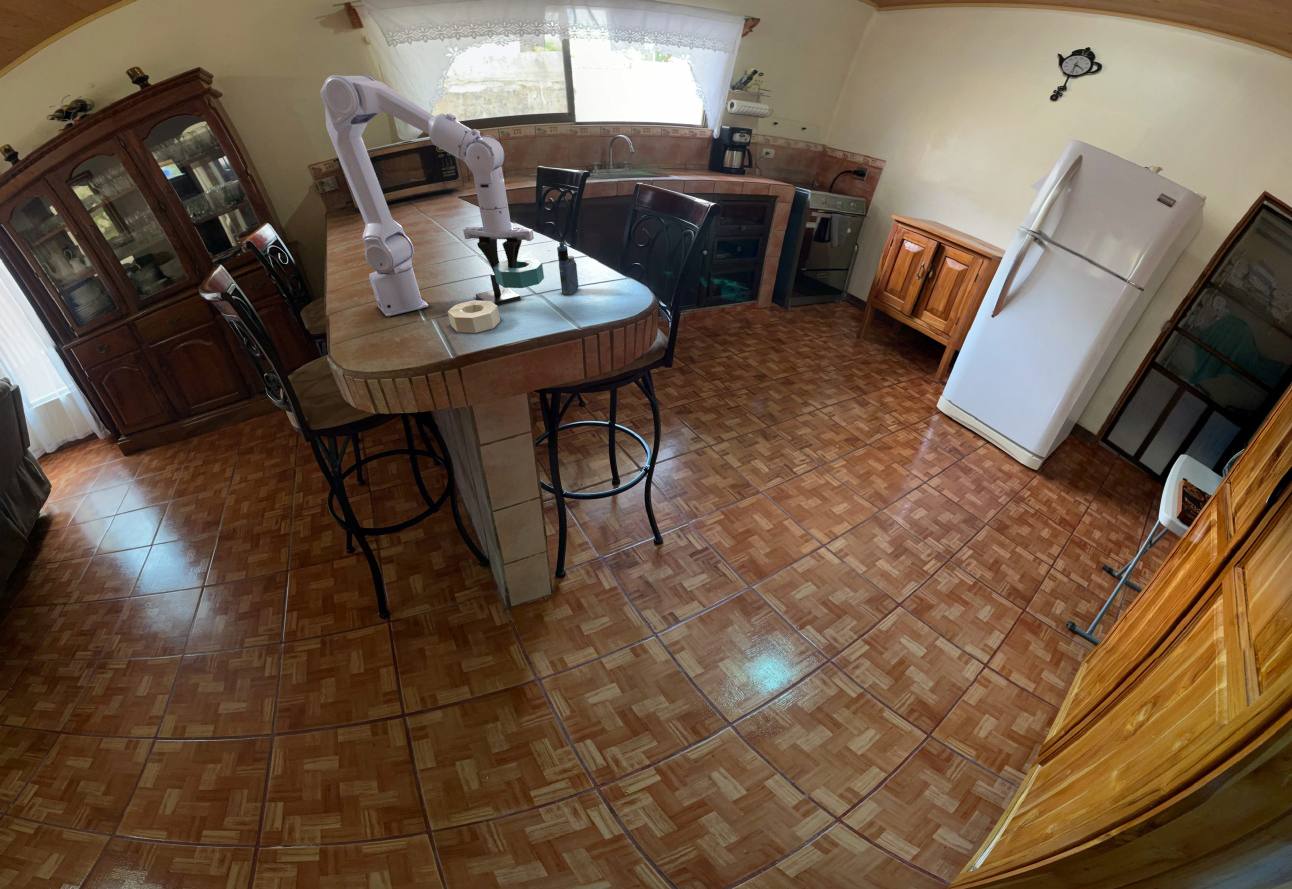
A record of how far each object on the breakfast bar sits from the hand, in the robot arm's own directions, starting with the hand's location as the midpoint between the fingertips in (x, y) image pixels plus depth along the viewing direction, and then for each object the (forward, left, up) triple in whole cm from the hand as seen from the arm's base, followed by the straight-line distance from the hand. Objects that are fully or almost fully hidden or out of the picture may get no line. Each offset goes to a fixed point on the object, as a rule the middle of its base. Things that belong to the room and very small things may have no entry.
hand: (505, 273), depth 111 cm
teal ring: (+2, -2, -1) cm, 3 cm away
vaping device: (+17, +2, -9) cm, 19 cm away
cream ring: (-9, -2, -9) cm, 13 cm away
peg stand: (+1, +9, -9) cm, 12 cm away
